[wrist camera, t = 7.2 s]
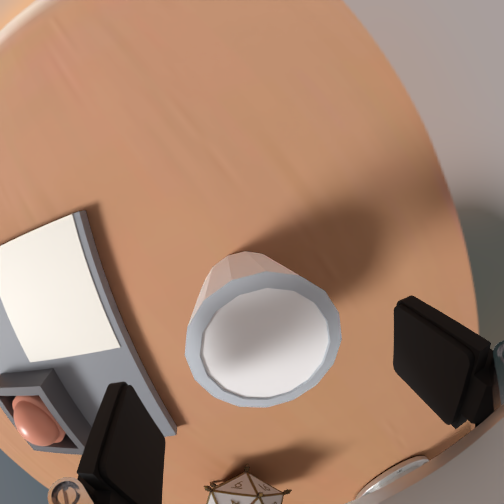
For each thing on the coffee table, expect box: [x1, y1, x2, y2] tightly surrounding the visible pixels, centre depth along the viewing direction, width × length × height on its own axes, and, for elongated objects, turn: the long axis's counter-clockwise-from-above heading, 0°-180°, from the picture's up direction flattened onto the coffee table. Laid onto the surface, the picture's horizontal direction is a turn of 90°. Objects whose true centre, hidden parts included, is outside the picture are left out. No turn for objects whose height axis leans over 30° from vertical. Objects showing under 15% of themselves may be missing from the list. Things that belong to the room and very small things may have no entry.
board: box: [0, 210, 177, 455], centre depth 15 cm, size 18×15×4 cm
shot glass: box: [185, 251, 342, 407], centre depth 15 cm, size 7×7×7 cm
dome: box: [12, 395, 66, 446], centre depth 15 cm, size 5×5×4 cm
